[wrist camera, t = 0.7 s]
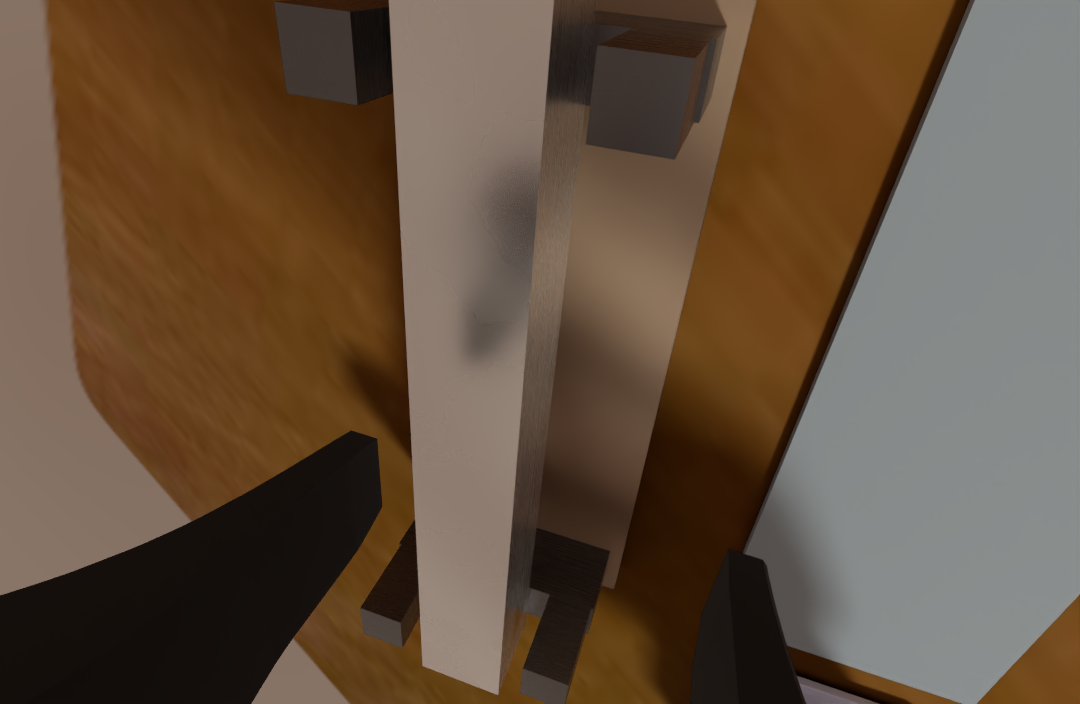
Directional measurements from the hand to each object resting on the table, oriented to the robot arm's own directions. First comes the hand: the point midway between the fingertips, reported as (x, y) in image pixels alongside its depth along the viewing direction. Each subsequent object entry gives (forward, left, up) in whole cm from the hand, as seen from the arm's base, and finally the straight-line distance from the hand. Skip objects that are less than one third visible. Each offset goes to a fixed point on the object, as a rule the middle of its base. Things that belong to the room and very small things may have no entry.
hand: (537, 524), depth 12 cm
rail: (-2, +3, -6) cm, 7 cm away
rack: (-2, +3, -10) cm, 11 cm away
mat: (-2, -11, -10) cm, 15 cm away
